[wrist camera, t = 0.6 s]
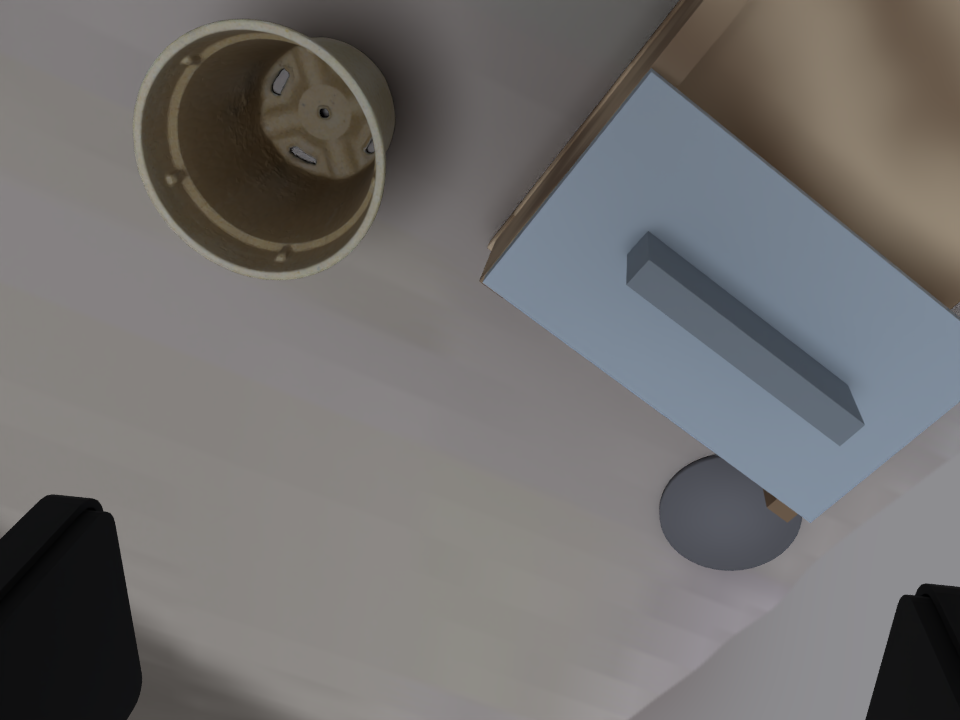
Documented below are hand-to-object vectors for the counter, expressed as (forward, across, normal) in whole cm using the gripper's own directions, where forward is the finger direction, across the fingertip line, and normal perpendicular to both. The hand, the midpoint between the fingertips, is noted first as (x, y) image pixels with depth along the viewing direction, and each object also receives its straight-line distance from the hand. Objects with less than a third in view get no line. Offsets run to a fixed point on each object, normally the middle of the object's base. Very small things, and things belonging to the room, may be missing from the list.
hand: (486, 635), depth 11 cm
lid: (+26, -7, +6) cm, 27 cm away
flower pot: (+32, +11, 0) cm, 34 cm away
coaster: (+32, -9, +19) cm, 38 cm away
